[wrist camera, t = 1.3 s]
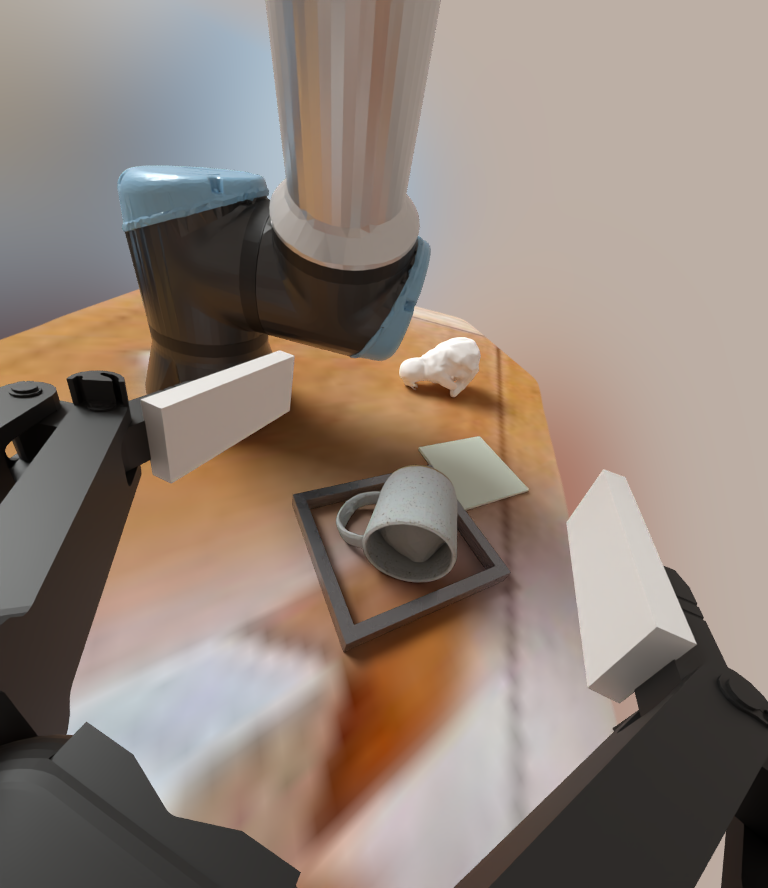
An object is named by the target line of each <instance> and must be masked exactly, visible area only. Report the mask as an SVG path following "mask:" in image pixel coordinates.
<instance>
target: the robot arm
mask: <svg viewBox="0 0 768 888" xmlns="http://www.w3.org/2000/svg"><path fill="white" fill-rule="evenodd" d="M265 1H266V10H267V18H268V27H269V35H270V43H271V52H272V61H273V70H274V79H275V87H276V96H277V105H278V113H279V122H280V131H281V139H282V148H283V156H284V165H285V173H286V179H284V181H282V182H281V184H279V186H278V187H277V188H276V189H275V191H274V193H273V194H272V197H271V200H269V199H268V198H267V196H268V195H269V190H268V188H267V185H266V182H265V180H264V178H263V177H262V176H260V175H258V174H257V175H254V174H252V173H249V172H242V171H235V170H225V169H215V168H202V167H184V166H138V167H132V168H129V169H127V170H125V171H124V172H123V173H122V174H121V175H120V177H119V179H118V187H117V189H118V194H119V200H120V205H121V211H122V217H123V223H124V224H122V229H123V231H124V232H125V234H126V238H127V242H128V246H129V250H130V254H131V258H132V262H133V266H134V269H135V273H136V277H137V281H138V285H139V289H140V293H141V297H142V301H143V305H144V308H145V312H146V316H147V320H148V324H149V328H150V332H151V337H152V345H151V352H150V358H149V364H148V370H147V377H146V384H145V385H146V393H147V395H145V396H142V397H139V398H136V399H133V400H130V401H128V396H127V391H126V385H125V380H124V377H122V376H121V375H120V374H117V373H114V372H108V371H86V372H80V373H77V374H73V375H71V376H70V377H68V378H67V382H68V386H69V390H70V393H71V397H72V400H73V403H69V402H64V401H60V400H59V397H58V394H57V390H56V387H54V386H53V385H51V384H47V383H43V382H34V381H26V382H25V381H21V382H17V383H13V384H8V385H5V386H3V387H0V888H297V887H296V883H297V881H298V878H299V875H300V873H301V872H299V871H298V870H297V869H295V868H294V867H292V866H291V865H289V864H288V863H287V862H285V861H284V860H282V859H281V858H280V857H278V856H277V855H275V854H274V853H272V852H271V851H270V850H268V849H267V848H265V847H264V846H262V845H261V844H260V843H258V842H257V841H255V840H254V839H253V838H251V837H250V836H248V835H247V834H245V833H244V832H243V831H239V830H235V829H230V828H225V827H221V826H216V825H212V824H207V823H202V822H198V821H193V820H189V819H184V818H179V817H176V816H173V815H171V814H170V813H169V812H168V811H167V810H166V808H165V807H164V805H163V803H162V802H161V800H160V798H159V797H158V795H157V793H156V792H155V790H154V788H153V787H152V785H151V783H150V782H149V780H148V778H147V777H146V775H145V773H144V772H143V770H142V768H141V767H140V765H139V763H138V762H137V760H136V758H135V757H134V755H133V754H132V753H130V752H129V751H127V750H126V749H124V748H123V747H122V746H120V745H119V744H117V743H116V742H115V741H113V740H112V739H110V738H109V737H107V736H106V735H105V734H103V733H102V732H100V731H99V730H97V729H96V728H95V727H93V726H92V725H90V724H89V723H87V722H86V723H85V724H84V725H83V726H82V727H81V728H80V729H79V730H78V731H77V732H76V733H75V734H74V735H66V734H67V730H68V724H69V717H70V691H71V687H72V683H73V680H74V677H75V674H76V671H77V668H78V665H79V662H80V659H81V656H82V653H83V650H84V647H85V644H86V640H87V637H88V634H89V631H90V628H91V625H92V622H93V619H94V616H95V613H96V610H97V607H98V604H99V601H100V598H101V595H102V592H103V589H104V586H105V583H106V580H107V577H108V574H109V571H110V568H111V565H112V562H113V559H114V556H115V553H116V550H117V547H118V544H119V541H120V538H121V535H122V532H123V529H124V525H125V522H126V519H127V516H128V513H129V510H130V507H131V504H132V501H133V498H134V495H135V492H136V489H137V486H138V483H139V480H140V477H141V466H140V465H141V464H143V463H145V462H147V461H149V460H150V461H151V467H152V473H153V475H155V476H157V477H159V478H161V479H163V480H165V481H167V482H169V483H173V482H175V481H176V480H178V479H179V478H181V477H183V476H184V475H186V474H188V473H189V472H191V471H193V470H194V469H196V468H197V467H199V466H201V465H202V464H204V463H206V462H207V461H209V460H210V459H212V458H214V457H215V456H217V455H219V454H220V453H222V452H223V451H225V450H227V449H228V448H230V447H232V446H233V445H235V444H236V443H238V442H240V441H241V440H243V439H245V438H246V437H248V436H249V435H251V434H253V433H254V432H256V431H258V430H259V429H261V428H263V427H264V426H266V425H267V424H269V423H271V422H272V421H274V420H276V419H277V418H279V417H280V416H282V415H284V414H285V413H287V412H289V411H290V402H291V391H292V379H293V368H294V356H293V355H291V354H288V353H285V352H283V351H277V352H274V353H272V350H271V348H270V345H269V342H268V335H271V336H275V337H279V338H283V339H286V340H290V341H294V342H298V343H302V344H305V345H309V346H313V347H317V348H320V349H324V350H328V351H332V352H336V353H339V354H343V355H347V356H350V357H351V358H358V357H360V358H366V359H371V360H377V361H383V360H386V359H388V358H390V357H391V356H392V355H393V354H394V353H395V352H396V351H397V349H398V347H399V346H400V344H401V342H402V340H403V337H404V335H405V333H406V331H407V328H408V326H409V323H410V321H411V318H412V315H413V311H414V306H415V305H416V303H417V300H418V298H419V295H420V292H421V290H422V287H423V283H424V280H425V276H426V272H427V269H428V265H429V259H430V252H431V249H430V246H429V244H428V243H427V242H426V241H424V240H423V239H422V238H421V237H419V236H418V233H419V227H420V226H419V215H418V212H417V210H416V207H415V205H414V204H413V202H412V200H411V199H410V198H409V196H408V195H407V194H406V192H407V186H408V181H409V175H410V169H411V164H412V159H413V153H414V147H415V142H416V136H417V131H418V124H419V119H420V114H421V107H422V103H423V97H424V91H425V85H426V80H427V74H428V69H429V63H430V58H431V52H432V46H433V41H434V35H435V30H436V24H437V19H438V13H439V8H440V2H441V0H265ZM11 441H13V444H14V446H15V449H16V451H17V454H15V455H14V456H13V457H11V458H8V457H7V455H6V453H5V449H6V446H7V445H8V444H9V443H10V442H11ZM566 523H567V531H568V539H569V547H570V554H571V562H572V570H573V578H574V586H575V594H576V601H577V609H578V617H579V625H580V633H581V640H582V648H583V656H584V664H585V672H586V680H587V687H588V688H589V689H591V690H593V691H595V692H597V693H599V694H601V695H603V696H605V697H607V698H610V699H612V700H614V701H616V702H618V703H621V702H622V701H623V700H625V699H626V698H627V697H629V696H630V695H631V694H633V693H634V692H635V695H636V699H637V703H638V707H639V710H638V711H637V712H635V713H634V714H632V715H631V716H629V717H628V718H627V719H625V720H624V721H622V722H621V723H620V724H618V725H617V726H615V727H614V728H613V730H614V732H613V733H612V734H611V735H610V736H609V737H608V738H607V739H606V740H605V741H604V742H603V743H602V744H601V745H600V746H599V747H598V748H597V749H596V750H595V751H594V752H593V753H592V754H591V755H590V756H589V757H588V758H587V759H586V760H584V761H583V762H582V763H581V764H580V765H579V766H578V767H577V768H576V769H575V770H574V771H573V772H572V773H571V774H570V775H569V776H568V777H567V778H566V779H565V780H564V781H563V782H562V783H561V784H560V785H559V786H558V787H557V788H556V789H555V790H554V791H553V792H552V793H551V794H550V795H548V796H547V797H546V798H545V799H544V800H543V801H542V802H541V803H540V804H539V805H538V806H537V807H536V808H535V809H534V810H533V811H532V812H531V813H530V814H529V815H528V816H527V817H526V818H525V819H524V820H523V821H522V822H521V823H520V824H519V825H518V826H517V827H516V828H515V829H513V830H512V831H511V832H510V833H509V834H508V835H507V836H506V837H505V838H504V839H503V840H502V841H501V842H500V843H499V844H498V845H497V846H496V847H495V848H494V849H493V850H492V851H491V852H490V853H489V854H488V855H487V856H486V857H485V858H484V859H483V860H482V861H481V862H480V863H479V864H477V865H476V866H475V867H474V868H473V869H472V870H471V871H470V872H469V873H468V874H467V875H466V876H465V877H464V878H463V879H462V880H461V881H460V882H459V883H458V884H457V885H456V886H455V887H454V888H694V887H695V886H696V884H697V882H698V880H699V878H700V877H701V875H702V873H703V871H704V870H705V868H706V866H707V864H708V862H709V860H710V859H711V856H712V855H713V853H714V851H715V850H716V848H717V846H718V844H719V843H720V841H721V839H722V837H723V835H724V834H725V832H726V837H725V849H724V860H723V872H722V883H721V888H768V701H767V700H766V699H765V697H764V696H763V695H762V694H761V693H760V692H759V691H758V690H757V689H756V688H755V687H754V686H753V685H752V684H751V683H750V682H749V681H747V680H746V679H745V678H743V677H742V676H741V675H739V674H738V673H737V672H735V671H734V670H731V669H730V668H728V667H727V665H726V663H725V661H724V659H723V656H722V654H721V652H720V650H719V648H718V646H717V644H716V642H715V640H714V638H713V636H712V634H711V632H710V629H709V628H708V625H707V623H706V621H704V620H703V618H704V617H703V615H702V613H701V611H700V609H699V607H697V602H696V600H695V598H694V596H693V594H692V592H691V590H690V588H689V586H688V585H687V584H686V583H685V582H684V581H683V580H682V578H681V577H680V576H679V575H678V574H677V572H676V571H675V570H673V569H670V568H668V567H665V566H663V564H662V562H661V560H660V557H659V555H658V553H657V550H656V548H655V545H654V543H653V541H652V539H651V536H650V534H649V532H648V529H647V527H646V524H645V522H644V520H643V517H642V515H641V513H640V511H639V508H638V506H637V503H636V501H635V499H634V496H633V494H632V492H631V489H630V487H629V485H628V482H627V480H626V478H625V477H623V476H621V475H618V474H615V473H612V472H609V471H607V470H603V471H602V472H601V473H600V475H599V476H598V478H597V480H596V481H595V482H594V484H593V485H592V487H591V488H590V490H589V491H588V492H587V494H586V495H585V497H584V498H583V499H582V501H581V502H580V504H579V505H578V507H577V508H576V509H575V511H574V512H573V514H572V515H571V517H570V518H569V520H568V521H567V522H566Z"/></svg>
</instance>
